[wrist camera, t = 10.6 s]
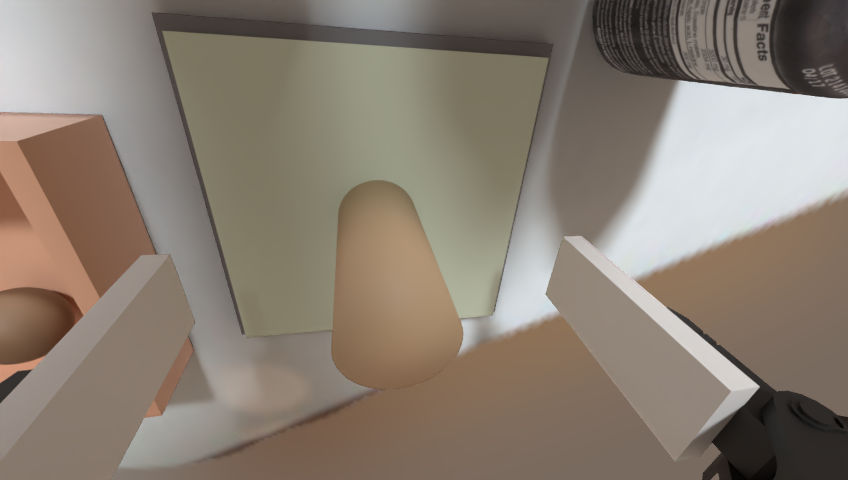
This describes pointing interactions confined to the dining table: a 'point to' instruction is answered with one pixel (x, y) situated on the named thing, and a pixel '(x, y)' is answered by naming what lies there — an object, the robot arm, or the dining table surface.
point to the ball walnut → (32, 323)
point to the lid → (360, 188)
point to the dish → (69, 218)
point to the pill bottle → (730, 42)
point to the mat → (336, 36)
